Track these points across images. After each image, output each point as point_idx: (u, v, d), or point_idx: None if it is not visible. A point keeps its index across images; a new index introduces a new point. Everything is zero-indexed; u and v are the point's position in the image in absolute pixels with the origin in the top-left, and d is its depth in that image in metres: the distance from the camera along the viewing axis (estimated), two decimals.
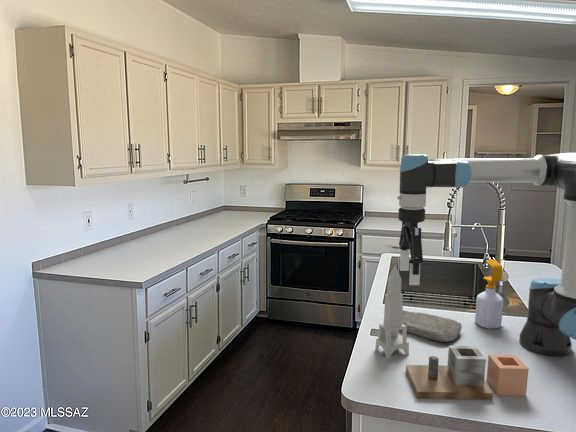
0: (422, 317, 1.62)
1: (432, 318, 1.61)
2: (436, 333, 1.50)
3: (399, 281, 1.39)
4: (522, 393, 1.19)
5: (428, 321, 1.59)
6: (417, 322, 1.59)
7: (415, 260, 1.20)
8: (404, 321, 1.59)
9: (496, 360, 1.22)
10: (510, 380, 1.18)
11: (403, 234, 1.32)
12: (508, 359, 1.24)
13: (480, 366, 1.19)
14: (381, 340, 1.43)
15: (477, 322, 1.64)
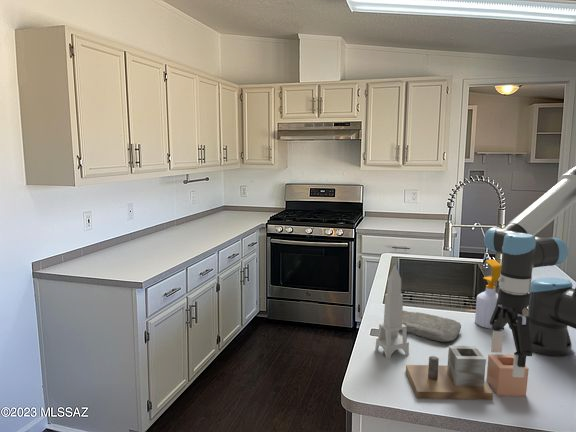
0: (421, 317, 1.62)
1: (431, 318, 1.61)
2: (436, 333, 1.50)
3: (399, 281, 1.39)
4: (522, 393, 1.19)
5: (427, 321, 1.59)
6: (417, 322, 1.59)
7: (524, 353, 1.10)
8: (403, 321, 1.59)
9: (496, 360, 1.22)
10: (510, 380, 1.18)
11: (501, 317, 1.22)
12: (508, 359, 1.24)
13: (480, 366, 1.19)
14: (381, 340, 1.43)
15: (477, 322, 1.64)
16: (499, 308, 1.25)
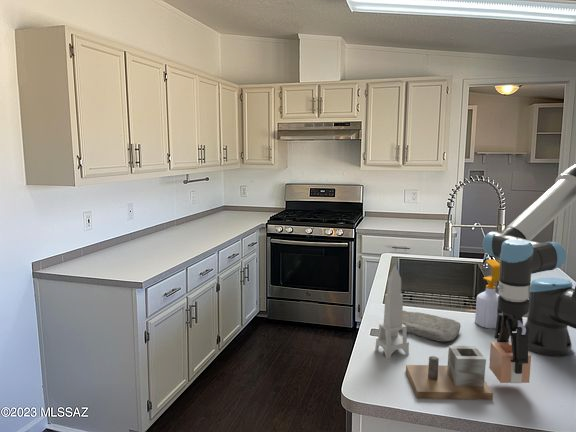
0: (420, 317, 1.62)
1: (431, 318, 1.61)
2: (436, 333, 1.50)
3: (399, 281, 1.39)
4: (525, 380, 1.19)
5: (427, 321, 1.59)
6: (416, 322, 1.59)
7: (520, 361, 1.14)
8: (403, 321, 1.59)
9: (498, 348, 1.22)
10: None
11: (503, 324, 1.22)
12: (510, 347, 1.23)
13: (480, 366, 1.19)
14: (381, 340, 1.43)
15: (477, 322, 1.64)
16: (501, 317, 1.25)
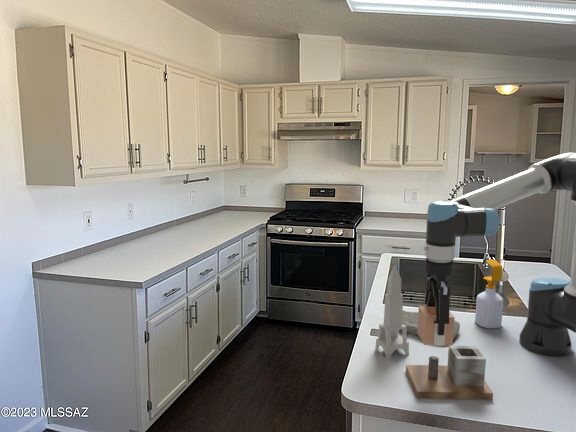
0: None
1: None
2: None
3: (399, 281, 1.39)
4: (448, 342, 1.18)
5: None
6: (416, 322, 1.59)
7: (441, 322, 1.14)
8: (403, 321, 1.59)
9: (424, 311, 1.21)
10: None
11: (429, 288, 1.22)
12: None
13: (480, 366, 1.19)
14: (381, 340, 1.43)
15: (477, 322, 1.64)
16: None
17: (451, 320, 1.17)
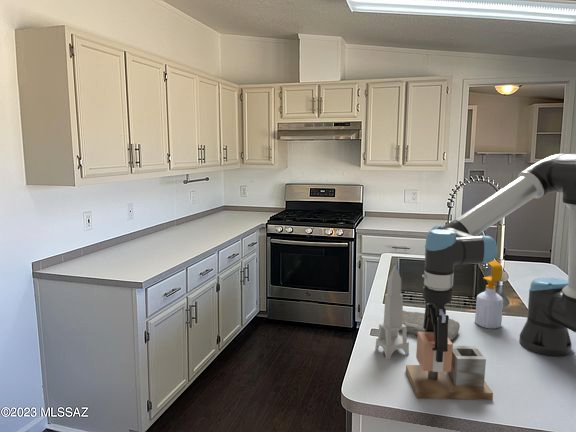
0: (420, 317, 1.62)
1: None
2: None
3: (399, 281, 1.39)
4: (447, 369, 1.20)
5: None
6: (415, 322, 1.59)
7: (439, 349, 1.15)
8: (402, 321, 1.59)
9: (423, 337, 1.23)
10: None
11: (428, 314, 1.23)
12: None
13: (480, 366, 1.19)
14: (381, 340, 1.43)
15: (477, 322, 1.64)
16: None
17: (449, 347, 1.19)
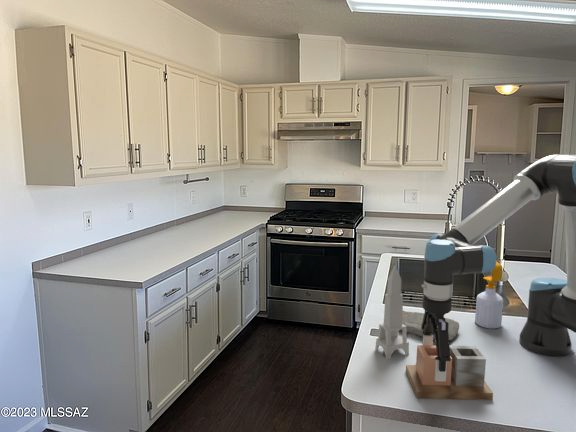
0: (419, 317, 1.62)
1: None
2: None
3: (399, 281, 1.39)
4: (446, 383, 1.21)
5: None
6: (415, 322, 1.59)
7: (442, 358, 1.13)
8: (402, 321, 1.59)
9: (422, 351, 1.24)
10: (434, 370, 1.20)
11: (427, 322, 1.24)
12: (435, 350, 1.25)
13: (480, 366, 1.19)
14: (381, 340, 1.43)
15: (477, 322, 1.64)
16: (427, 313, 1.27)
17: (449, 361, 1.19)
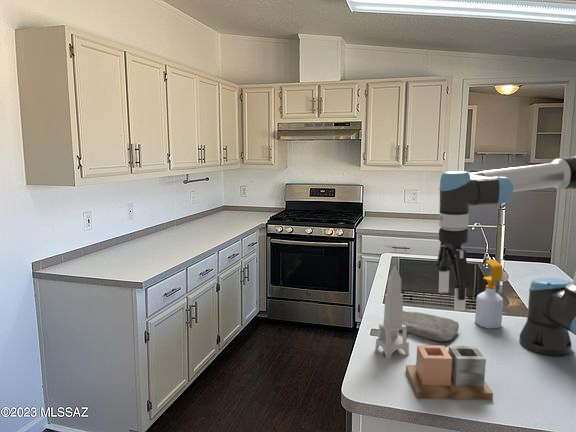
0: (419, 317, 1.62)
1: (429, 317, 1.62)
2: (434, 332, 1.50)
3: (399, 281, 1.39)
4: (446, 383, 1.21)
5: (425, 321, 1.59)
6: (415, 322, 1.59)
7: (462, 285, 1.13)
8: (402, 321, 1.59)
9: (422, 351, 1.24)
10: (434, 370, 1.20)
11: (443, 255, 1.25)
12: (435, 350, 1.25)
13: (480, 366, 1.19)
14: (381, 340, 1.43)
15: (477, 322, 1.64)
16: (443, 248, 1.28)
17: (449, 361, 1.19)
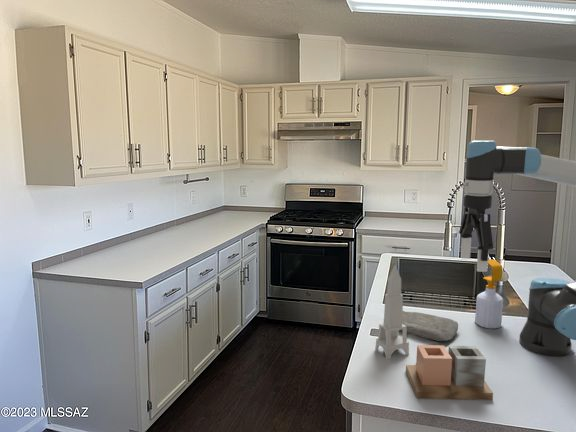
0: (418, 317, 1.62)
1: (429, 317, 1.62)
2: (434, 332, 1.50)
3: (399, 281, 1.39)
4: (446, 383, 1.21)
5: (425, 320, 1.59)
6: (414, 322, 1.59)
7: (485, 246, 1.20)
8: None
9: (422, 351, 1.24)
10: (434, 370, 1.20)
11: (467, 221, 1.32)
12: (435, 350, 1.25)
13: (480, 366, 1.19)
14: (381, 340, 1.43)
15: (477, 322, 1.64)
16: (466, 215, 1.35)
17: (449, 361, 1.19)
